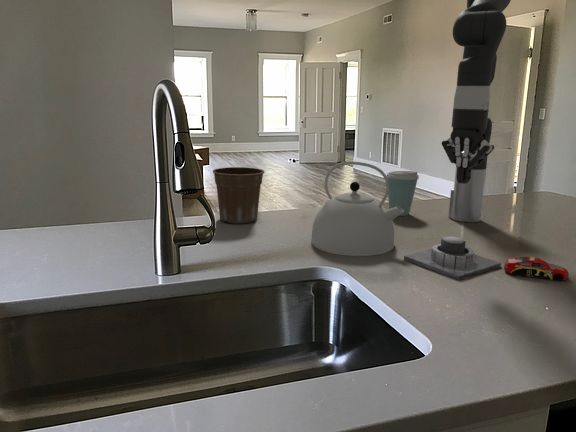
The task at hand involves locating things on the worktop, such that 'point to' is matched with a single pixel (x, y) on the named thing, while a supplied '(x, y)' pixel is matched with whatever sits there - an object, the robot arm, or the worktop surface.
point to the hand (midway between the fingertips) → (462, 182)
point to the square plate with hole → (452, 262)
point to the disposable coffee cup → (402, 189)
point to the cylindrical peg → (453, 245)
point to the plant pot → (238, 193)
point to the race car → (535, 268)
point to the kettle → (354, 221)
